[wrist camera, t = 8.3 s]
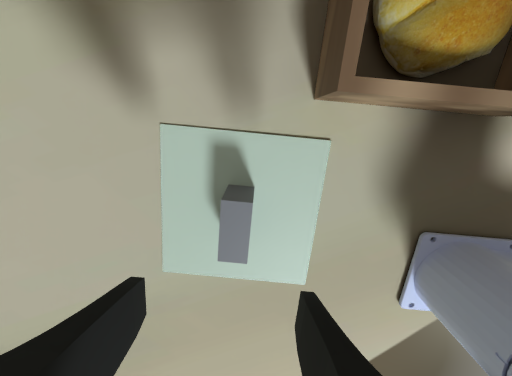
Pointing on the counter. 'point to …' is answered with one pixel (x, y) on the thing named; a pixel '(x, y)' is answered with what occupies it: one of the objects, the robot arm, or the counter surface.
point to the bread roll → (438, 32)
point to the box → (395, 91)
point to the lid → (239, 202)
